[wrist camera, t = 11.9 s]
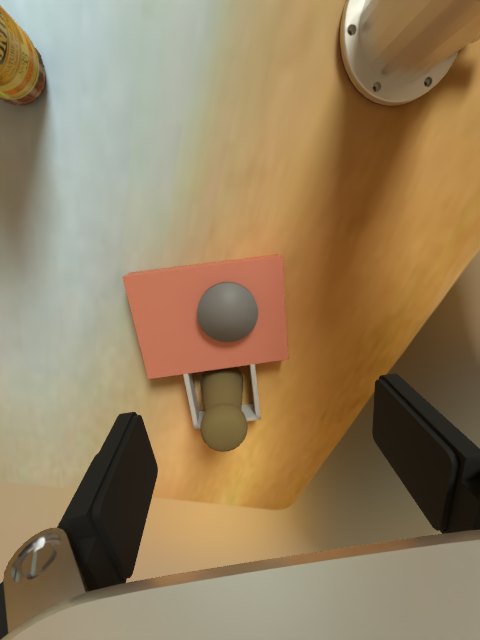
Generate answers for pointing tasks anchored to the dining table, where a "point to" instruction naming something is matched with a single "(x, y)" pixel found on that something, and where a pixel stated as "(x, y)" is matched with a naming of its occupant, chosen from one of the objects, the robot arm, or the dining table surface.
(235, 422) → the cork
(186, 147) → the dining table surface
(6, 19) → the sauce bottle
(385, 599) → the robot arm
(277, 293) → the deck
